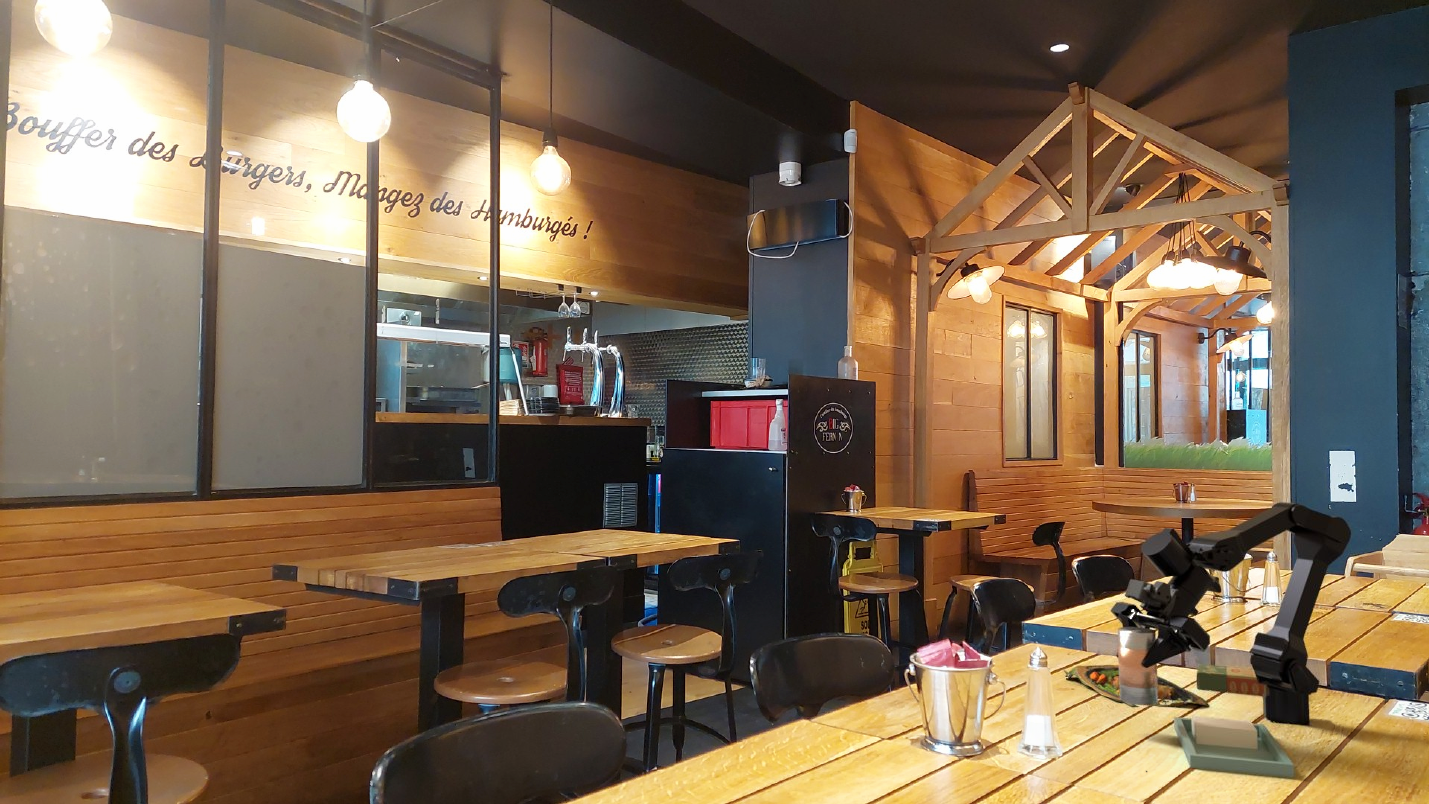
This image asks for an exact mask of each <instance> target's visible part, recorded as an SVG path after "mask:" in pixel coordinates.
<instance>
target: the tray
mask: <svg viewBox="0 0 1429 804" xmlns="http://www.w3.org/2000/svg"><path fill="white" fill-rule="evenodd" d="M1252 724H1253V725H1254V727H1255V728H1256V730H1257V744H1258V749H1250V748H1239V747H1228V746H1217V745H1206V744H1197V743H1196V741H1195V739H1194V737H1193V735H1192V720H1191V717H1190V718H1188V717H1177V716H1174V717H1173V727H1174V728H1173V729H1174V731H1175V734H1176V736H1177V738H1178V741H1179V743H1180V746H1181V748H1182V751H1183V754H1184V755H1185V758H1186V761H1187V762H1188V764H1189V768H1190V769H1197V770H1207V771H1217V772H1218V771H1219V772H1227V773H1235V774H1246V775H1247V774H1248V775H1258V776H1265V777H1268V776H1269V777H1276V778H1277V777H1278V778H1287V779H1295V765H1294V763H1293V762H1292V760H1291V758H1289V757H1288V755H1287V754H1286V752H1285V751H1284V750H1283V748H1282V747H1281V746H1280V744H1279V742H1278V741H1277V740H1276V739H1275V737H1274V736H1273V735H1272V733H1271V731H1270V730H1269V729H1268V728H1267V727H1266V725H1265V724H1262V723H1252Z"/></svg>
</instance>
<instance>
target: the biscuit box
mask: <svg viewBox="0 0 1429 804" xmlns="http://www.w3.org/2000/svg"><path fill="white" fill-rule="evenodd" d="M1190 718H1191V720H1192V735H1193V737H1194V739H1195V741H1196V743H1197V744H1206V745H1217V746H1228V747H1239V748H1250V749H1258V744H1257V730H1256V728H1255V727H1254V725H1253V724H1254V723H1252V720H1246V719H1235V718H1233V719H1232V718H1222V717H1209V716H1199V715H1191V717H1190Z"/></svg>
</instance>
